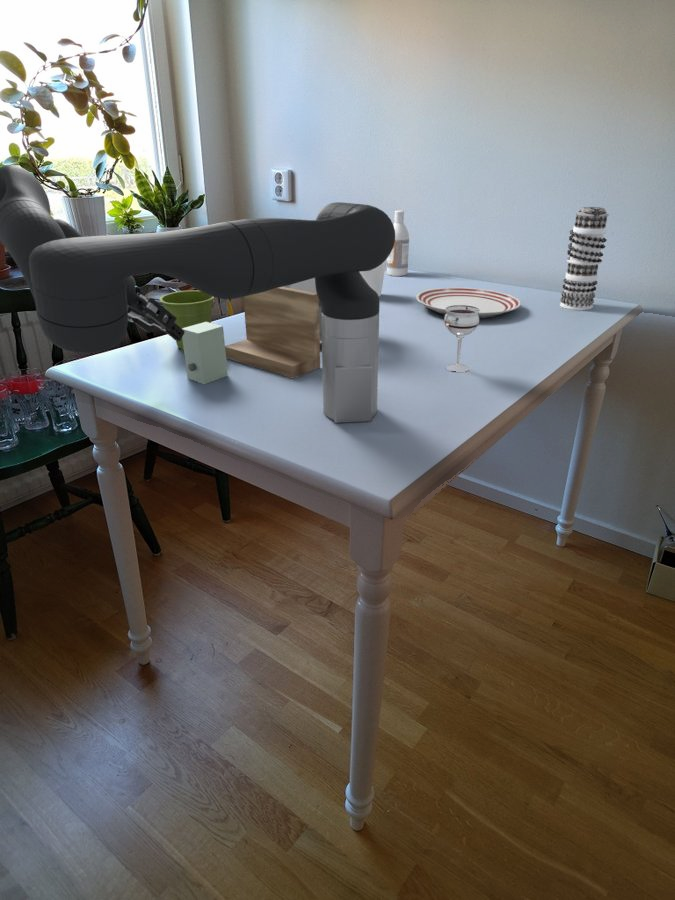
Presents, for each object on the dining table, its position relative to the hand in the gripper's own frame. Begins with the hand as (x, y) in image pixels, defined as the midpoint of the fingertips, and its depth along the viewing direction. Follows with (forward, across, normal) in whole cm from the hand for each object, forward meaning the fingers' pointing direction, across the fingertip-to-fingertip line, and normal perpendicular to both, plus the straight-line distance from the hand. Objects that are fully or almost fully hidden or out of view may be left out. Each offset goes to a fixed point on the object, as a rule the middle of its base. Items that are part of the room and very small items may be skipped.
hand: (166, 332), depth 111 cm
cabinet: (+13, +1, -2) cm, 13 cm away
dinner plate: (+67, +16, +53) cm, 87 cm away
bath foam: (+84, -24, +72) cm, 113 cm away
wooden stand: (+22, +5, +8) cm, 24 cm away
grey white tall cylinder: (+81, +39, +68) cm, 112 cm away
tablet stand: (+37, +3, +23) cm, 44 cm away
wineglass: (+37, +37, +22) cm, 57 cm away
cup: (+64, -13, +51) cm, 82 cm away
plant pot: (+20, -17, +6) cm, 27 cm away
